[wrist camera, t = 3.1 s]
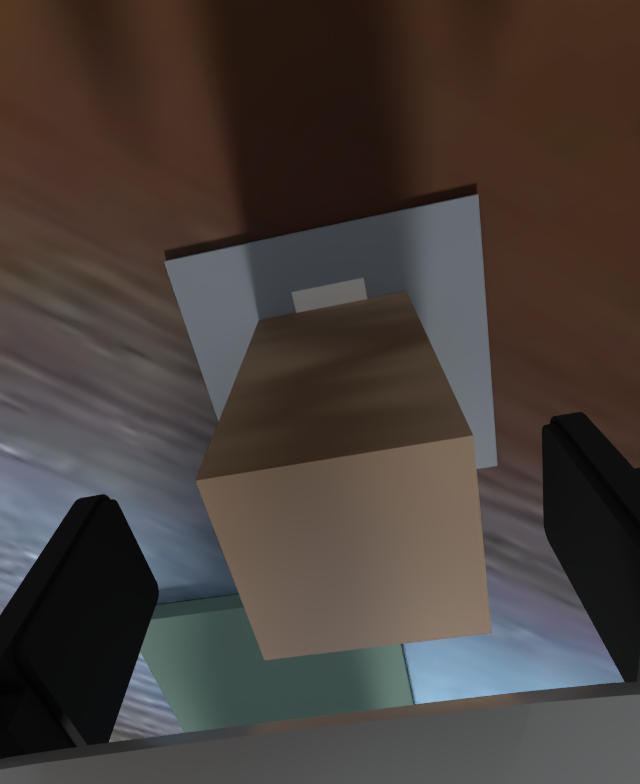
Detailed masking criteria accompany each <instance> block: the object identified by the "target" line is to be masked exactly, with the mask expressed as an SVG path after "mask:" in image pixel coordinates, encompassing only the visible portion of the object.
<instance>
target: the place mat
mask: <svg viewBox="0 0 640 784" xmlns="http://www.w3.org/2000/svg"><path fill="white" fill-rule="evenodd" d="M140 651H141V653H142V655H143V657H144V659H145V661H146V663H147V664H148V666H149V668H150V670H151V672H152V674H153V676H154V678H155V679H156V681H157V683H158V685H159V687H160V689H161V691H162V692H163V694H164V696H165V698H166V700H167V702H168V704H169V705H170V707H171V709H172V711H173V713H174V715H175V717H176V718H177V720H178V722H179V724H180V726H181V728H182V730H183V731H184V733H187V732H195V731H203V730H210V729H218V728H226V727H234V726H243V725H251V724H259V723H267V722H275V721H283V720H291V719H299V718H307V717H315V716H324V715H332V714H340V713H348V712H356V711H365V710H373V709H381V708H390V707H398V706H407V705H414V701H413V697H412V692H411V687H410V682H409V677H408V672H407V667H406V663H405V658H404V653H403V648H402V644H396V645H388V646H380V647H371V648H363V649H355V650H346V651H338V652H330V653H321V654H313V655H305V656H297V657H288V658H280V659H272V660H264V658H263V655H262V652H261V650H260V647H259V645H258V642H257V640H256V637H255V634H254V632H253V629H252V627H251V624H250V621H249V619H248V616H247V614H246V611H245V608H244V606H243V603H242V601H241V598H240V595H239V594H236V595H228V596H221V597H213V598H206V599H199V600H191V601H184V602H177V603H169V604H162V605H156V607H155V610H154V612H153V615H152V618H151V621H150V624H149V627H148V630H147V633H146V636H145V638H144V641H143V644H142V647H141V650H140Z"/></svg>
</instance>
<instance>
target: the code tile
mask: <svg viewBox="0 0 640 784" xmlns="http://www.w3.org/2000/svg"><path fill="white" fill-rule="evenodd" d="M164 263H165V266H166V269H167V272H168V275H169V278H170V281H171V284H172V287H173V289H174V292H175V295H176V298H177V301H178V304H179V307H180V310H181V313H182V316H183V319H184V322H185V325H186V328H187V331H188V334H189V336H190V339H191V342H192V345H193V348H194V351H195V354H196V357H197V360H198V363H199V366H200V369H201V372H202V375H203V378H204V381H205V383H206V386H207V389H208V392H209V395H210V398H211V401H212V404H213V407H214V410H215V413H216V416H217V419H218V422H219V419H220V417H221V414H222V412H223V409H224V407H225V404H226V402H227V399H228V397H229V394H230V392H231V389H232V387H233V384H234V381H235V379H236V376H237V374H238V371H239V369H240V366H241V364H242V361H243V359H244V356H245V354H246V351H247V349H248V346H249V343H250V341H251V338H252V336H253V333H254V331H255V328H256V326H257V323H258V321H259V320H263V319H268V318H273V317H278V316H283V315H288V314H293V313H299V312H304V311H309V310H314V309H319V308H324V307H329V306H334V305H339V304H344V303H350V302H355V301H360V300H365V299H370V298H375V297H380V296H385V295H390V294H395V293H400V292H406V291H407V293H408V295H409V297H410V299H411V302H412V304H413V306H414V308H415V310H416V312H417V315H418V317H419V319H420V321H421V323H422V325H423V328H424V330H425V332H426V334H427V336H428V338H429V341H430V343H431V345H432V347H433V349H434V351H435V354H436V356H437V358H438V360H439V362H440V364H441V367H442V369H443V371H444V373H445V375H446V377H447V380H448V382H449V384H450V386H451V388H452V390H453V393H454V395H455V397H456V399H457V401H458V403H459V406H460V408H461V410H462V412H463V414H464V416H465V419H466V421H467V423H468V425H469V427H470V429H471V432H472V434H473V438H474V448H475V459H476V469H480V468H487V467H493V466H497V452H496V438H495V424H494V410H493V396H492V381H491V367H490V353H489V339H488V325H487V311H486V296H485V282H484V268H483V254H482V240H481V226H480V211H479V197H478V194H473V195H469V196H464V197H459V198H455V199H450V200H445V201H441V202H436V203H431V204H427V205H422V206H417V207H413V208H408V209H403V210H399V211H394V212H389V213H385V214H380V215H375V216H371V217H366V218H361V219H357V220H352V221H347V222H343V223H338V224H333V225H329V226H324V227H319V228H315V229H310V230H305V231H301V232H296V233H291V234H287V235H282V236H277V237H273V238H268V239H263V240H259V241H254V242H249V243H245V244H240V245H235V246H231V247H226V248H221V249H217V250H212V251H207V252H203V253H198V254H193V255H189V256H184V257H179V258H174V259H170V260H166V261H164Z"/></svg>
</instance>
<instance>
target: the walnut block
mask: <svg viewBox="0 0 640 784" xmlns="http://www.w3.org/2000/svg"><path fill="white" fill-rule="evenodd" d="M195 481H196V484H197V486H198V489H199V492H200V494H201V497H202V499H203V502H204V505H205V507H206V510H207V512H208V515H209V518H210V520H211V523H212V525H213V528H214V531H215V533H216V536H217V538H218V541H219V544H220V546H221V549H222V551H223V554H224V557H225V559H226V562H227V564H228V567H229V569H230V572H231V575H232V577H233V580H234V582H235V585H236V588H237V590H238V593H239V595H240V598H241V601H242V603H243V606H244V608H245V611H246V614H247V616H248V619H249V621H250V624H251V627H252V629H253V632H254V634H255V637H256V640H257V642H258V645H259V647H260V650H261V652H262V655H263V658H264V660H272V659H280V658H288V657H297V656H305V655H313V654H321V653H330V652H338V651H346V650H355V649H363V648H371V647H380V646H388V645H396V644H404V643H413V642H421V641H429V640H438V639H446V638H454V637H463V636H471V635H479V634H488V633H492V632H491V622H490V611H489V600H488V589H487V578H486V567H485V557H484V546H483V535H482V524H481V513H480V503H479V492H478V481H477V470H476V459H475V448H474V438H473V434H472V432H471V429H470V427H469V425H468V423H467V421H466V419H465V416H464V414H463V412H462V410H461V408H460V406H459V403H458V401H457V399H456V397H455V395H454V393H453V390H452V388H451V386H450V384H449V382H448V380H447V377H446V375H445V373H444V371H443V369H442V367H441V364H440V362H439V360H438V358H437V356H436V354H435V351H434V349H433V347H432V345H431V343H430V341H429V338H428V336H427V334H426V332H425V330H424V328H423V325H422V323H421V321H420V319H419V317H418V315H417V312H416V310H415V308H414V306H413V304H412V302H411V299H410V297H409V295H408V293H407V291H406V292H400V293H395V294H390V295H385V296H380V297H375V298H370V299H365V300H360V301H355V302H350V303H344V304H339V305H334V306H329V307H324V308H319V309H314V310H309V311H304V312H299V313H293V314H288V315H283V316H278V317H273V318H268V319H263V320H259V321H258V323H257V326H256V328H255V331H254V333H253V336H252V338H251V341H250V343H249V346H248V349H247V351H246V354H245V356H244V359H243V361H242V364H241V366H240V369H239V371H238V374H237V376H236V379H235V381H234V384H233V387H232V389H231V392H230V394H229V397H228V399H227V402H226V404H225V407H224V409H223V412H222V414H221V417H220V419H219V422H218V425H217V427H216V430H215V432H214V435H213V437H212V440H211V442H210V445H209V447H208V450H207V452H206V455H205V457H204V460H203V462H202V465H201V468H200V470H199V473H198V475H197V478H196V480H195Z"/></svg>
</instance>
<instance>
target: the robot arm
mask: <svg viewBox="0 0 640 784" xmlns="http://www.w3.org/2000/svg"><path fill="white" fill-rule="evenodd" d="M542 456H543V510H544V529H545V533H546V536H547V539H548V541H549V543H550V545H551V547H552V549H553V551H554V552H555V554H556V556H557V558H558V560H559V562H560V563H561V565H562V567H563V569H564V571H565V573H566V575H567V576H568V578H569V580H570V582H571V584H572V586H573V587H574V589H575V591H576V593H577V595H578V597H579V598H580V600H581V602H582V604H583V606H584V608H585V609H586V611H587V613H588V615H589V617H590V619H591V621H592V622H593V624H594V626H595V628H596V630H597V632H598V633H599V635H600V637H601V639H602V641H603V643H604V644H605V646H606V648H607V650H608V652H609V654H610V656H611V657H612V659H613V661H614V663H615V665H616V667H617V668H618V670H619V672H620V674H621V676H622V678H623V679H624V681H625V682H623V683H608V684H598V685H588V686H578V687H568V688H558V689H548V690H538V691H528V692H518V693H509V694H501V695H492V696H483V697H475V698H466V699H458V700H449V701H441V702H432V703H424V704H415V705H407V706H398V707H390V708H381V709H373V710H365V711H356V712H348V713H340V714H332V715H324V716H315V717H307V718H299V719H291V720H283V721H275V722H267V723H259V724H251V725H243V726H234V727H226V728H218V729H210V730H203V731H195V732H187V733H179V734H172V735H164V736H156V737H149V738H141V739H133V740H125V741H118V742H110V743H108V742H109V739H110V736H111V734H112V731H113V728H114V725H115V722H116V719H117V716H118V713H119V710H120V708H121V705H122V702H123V699H124V696H125V693H126V690H127V687H128V685H129V682H130V679H131V676H132V673H133V670H134V667H135V664H136V661H137V659H138V656H139V653H140V650H141V647H142V644H143V641H144V638H145V636H146V633H147V630H148V627H149V624H150V621H151V618H152V615H153V612H154V610H155V607H156V604H157V601H158V595H159V590H158V585H157V582H156V580H155V578H154V576H153V574H152V572H151V570H150V568H149V566H148V564H147V561H146V559H145V557H144V555H143V553H142V551H141V549H140V547H139V545H138V543H137V541H136V539H135V537H134V535H133V533H132V531H131V529H130V527H129V525H128V523H127V521H126V518H125V516H124V514H123V512H122V510H121V508H120V506H119V504H118V503H117V501H116V500H113V499H111V500H110V498H109V497H108V496H107V495H104V494H102V495H96V496H90V497H84V498H80V499H77V500H76V501H75V502H74V504H73V505H72V507H71V509H70V510H69V512H68V513H67V515H66V516H65V518H64V519H63V521H62V522H61V524H60V525H59V527H58V528H57V530H56V531H55V533H54V534H53V536H52V537H51V539H50V540H49V542H48V544H47V545H46V547H45V548H44V550H43V551H42V553H41V554H40V556H39V557H38V559H37V560H36V562H35V563H34V565H33V566H32V568H31V569H30V571H29V572H28V574H27V575H26V577H25V578H24V580H23V582H22V583H21V585H20V586H19V588H18V589H17V591H16V592H15V594H14V595H13V597H12V598H11V600H10V601H9V603H8V604H7V606H6V607H5V609H4V610H3V612H2V613H1V615H0V784H640V468H635V469H634V468H633V467H632V466H631V464H630V463H629V462H628V461H627V460H626V459H625V458H624V457H623V456H622V455H621V453H620V452H619V451H618V450H617V449H616V448H615V447H614V446H613V445H612V444H611V442H610V441H609V440H608V439H607V438H606V437H605V436H604V435H603V434H602V433H601V431H600V430H599V429H598V428H597V427H596V426H595V425H594V424H593V423H592V422H591V420H590V419H589V418H588V417H587V416H586V415H585V414H584V413H583V412H576V413H571V414H565V415H559V416H553V417H552V418H551V421H550V424H548V425H544V426H543V428H542Z"/></svg>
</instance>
